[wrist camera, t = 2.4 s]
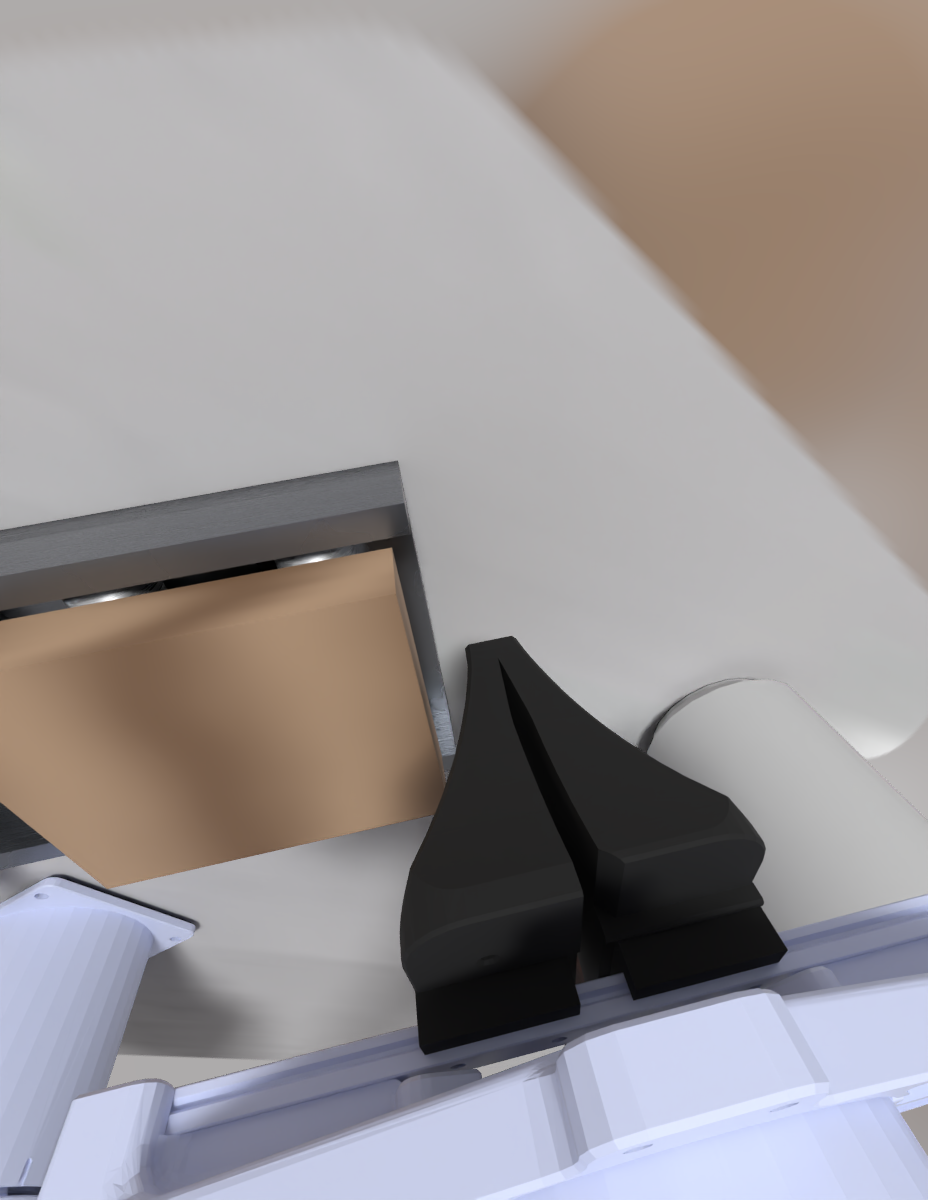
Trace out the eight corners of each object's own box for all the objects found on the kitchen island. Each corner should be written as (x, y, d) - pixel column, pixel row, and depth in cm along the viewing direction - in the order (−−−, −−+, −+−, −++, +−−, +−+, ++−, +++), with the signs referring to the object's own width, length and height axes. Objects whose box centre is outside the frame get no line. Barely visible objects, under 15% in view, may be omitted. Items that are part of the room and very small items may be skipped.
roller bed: (397, 460, 13) (414, 569, 8) (448, 704, 19) (475, 853, 14) (-393, 599, 12) (-931, 827, 7) (-79, 816, 18) (-251, 1023, 13)
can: (605, 753, 23) (785, 1114, 13) (722, 643, 20) (1072, 1006, 10) (703, 784, 26) (906, 1093, 16) (816, 693, 23) (1153, 1006, 13)
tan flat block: (392, 547, 11) (396, 593, 10) (441, 755, 16) (450, 810, 14) (-54, 631, 10) (-131, 696, 9) (135, 822, 15) (107, 888, 13)
